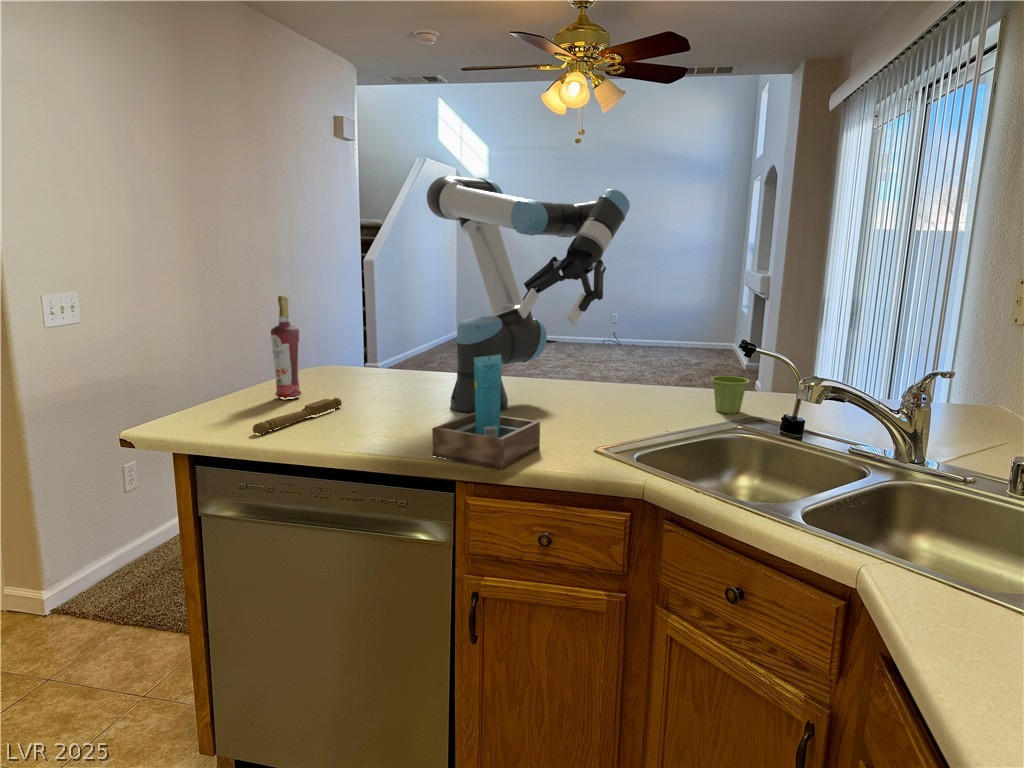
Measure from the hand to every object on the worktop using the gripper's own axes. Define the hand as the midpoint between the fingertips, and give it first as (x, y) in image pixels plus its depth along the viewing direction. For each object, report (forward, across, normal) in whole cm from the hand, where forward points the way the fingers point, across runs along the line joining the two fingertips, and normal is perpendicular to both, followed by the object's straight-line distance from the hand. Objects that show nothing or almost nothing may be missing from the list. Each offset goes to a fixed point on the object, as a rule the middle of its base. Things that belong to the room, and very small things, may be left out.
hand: (545, 317), depth 146 cm
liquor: (+33, +75, -8) cm, 82 cm away
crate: (+31, 0, -6) cm, 32 cm away
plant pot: (-18, -21, -56) cm, 63 cm away
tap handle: (+40, +51, 0) cm, 65 cm away
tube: (+30, 0, -6) cm, 31 cm away
